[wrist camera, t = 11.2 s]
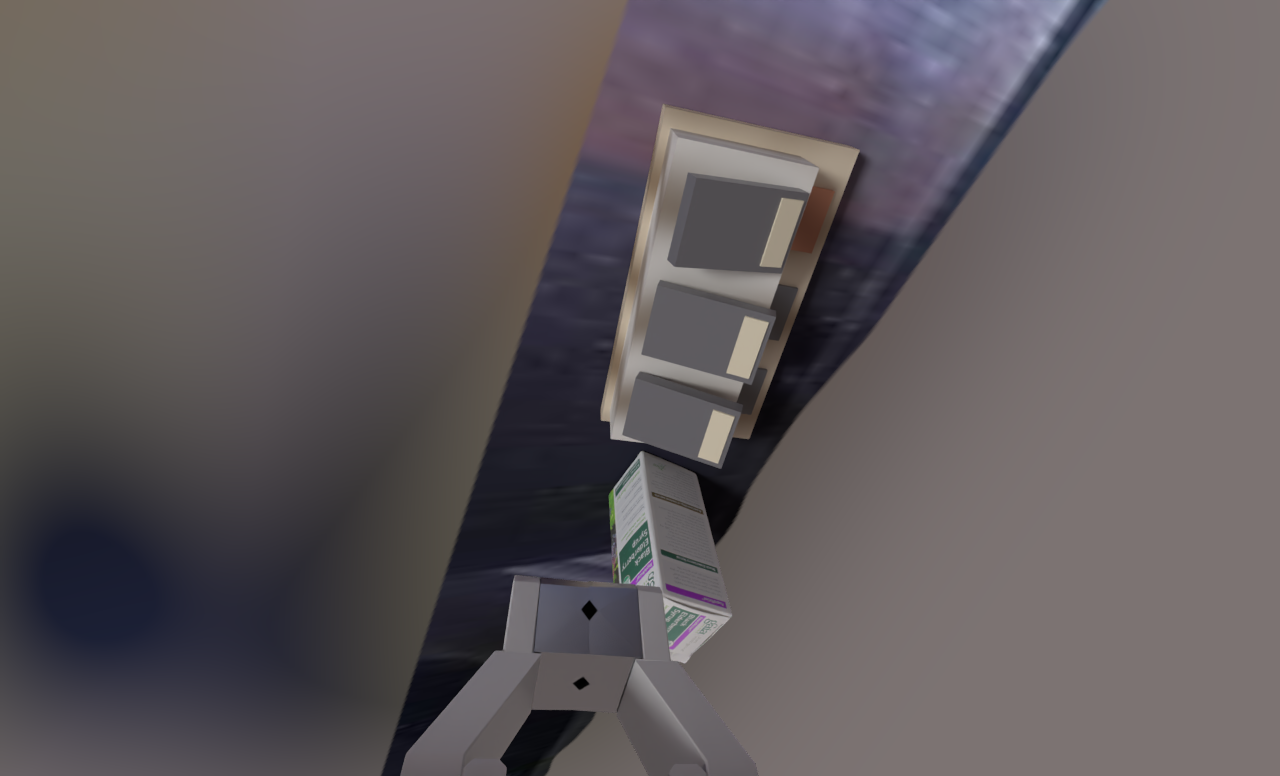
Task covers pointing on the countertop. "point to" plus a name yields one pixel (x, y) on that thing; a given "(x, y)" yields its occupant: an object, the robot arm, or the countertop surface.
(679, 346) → the switch middle
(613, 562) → the syrup box
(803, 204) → the switch
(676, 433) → the switch
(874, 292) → the countertop surface
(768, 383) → the switch unit
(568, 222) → the countertop surface
